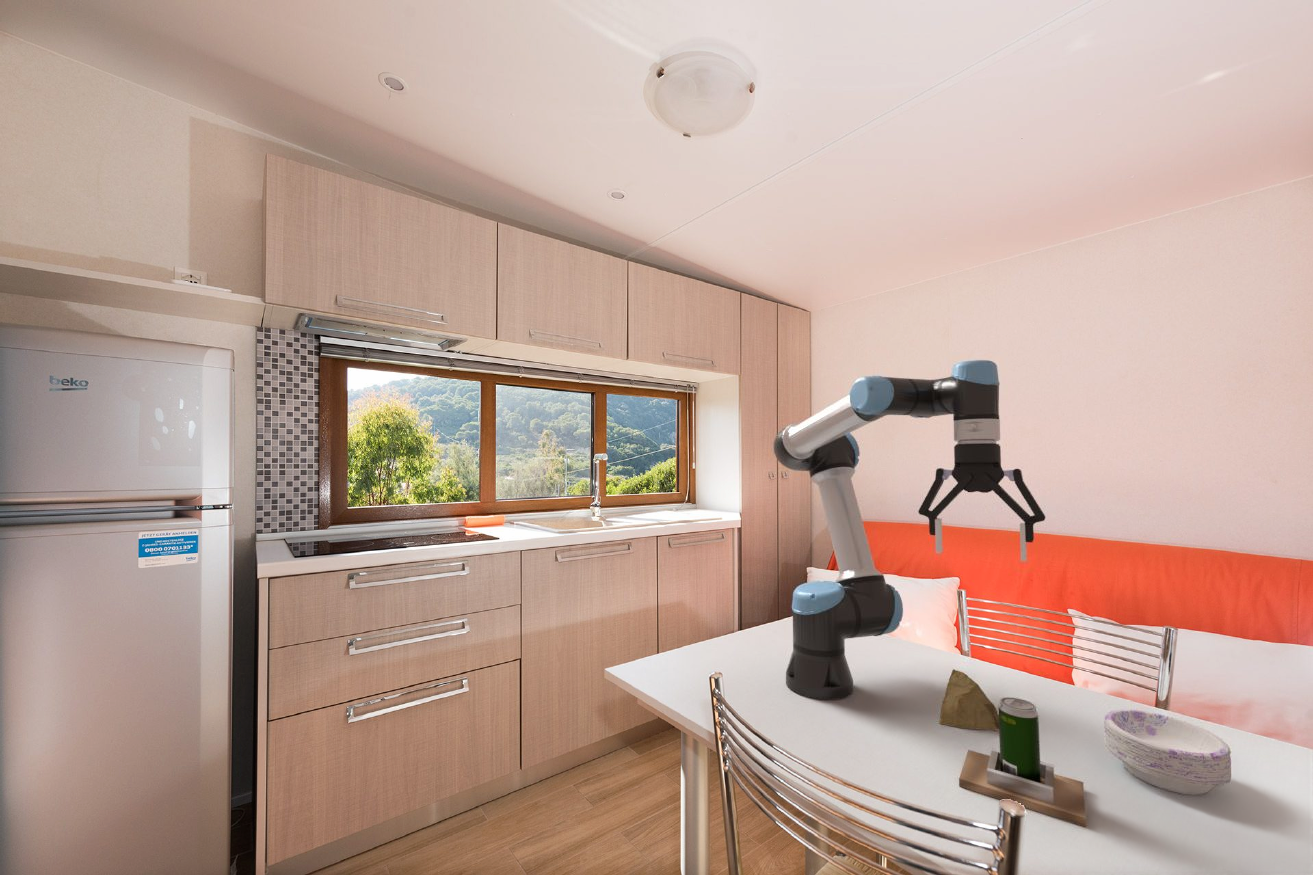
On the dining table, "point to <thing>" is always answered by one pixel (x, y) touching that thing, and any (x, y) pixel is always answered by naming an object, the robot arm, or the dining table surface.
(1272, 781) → the dining table surface
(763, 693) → the dining table surface
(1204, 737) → the paper bowls
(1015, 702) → the beer can
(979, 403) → the robot arm
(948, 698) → the rock
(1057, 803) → the socket board
